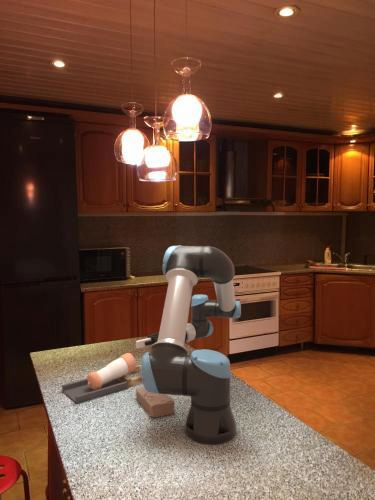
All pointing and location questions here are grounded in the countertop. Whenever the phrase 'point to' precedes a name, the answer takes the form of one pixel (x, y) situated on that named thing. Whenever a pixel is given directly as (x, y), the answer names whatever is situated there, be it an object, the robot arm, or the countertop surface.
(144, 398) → the brick
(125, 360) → the salt shaker
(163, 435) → the countertop surface
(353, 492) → the countertop surface
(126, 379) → the oak cradle
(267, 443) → the countertop surface
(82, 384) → the grey tray
